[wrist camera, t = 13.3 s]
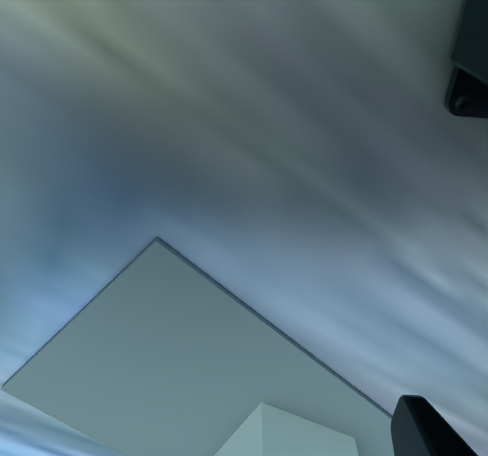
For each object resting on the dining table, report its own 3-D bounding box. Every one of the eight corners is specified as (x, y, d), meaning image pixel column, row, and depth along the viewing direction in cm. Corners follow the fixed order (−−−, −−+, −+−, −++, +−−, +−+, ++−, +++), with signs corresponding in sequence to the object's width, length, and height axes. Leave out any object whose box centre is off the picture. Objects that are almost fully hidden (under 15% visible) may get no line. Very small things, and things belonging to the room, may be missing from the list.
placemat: (431, 446, 29) (432, 450, 29) (270, 528, 35) (270, 533, 34) (157, 237, 22) (156, 240, 21) (3, 384, 27) (0, 389, 26)
